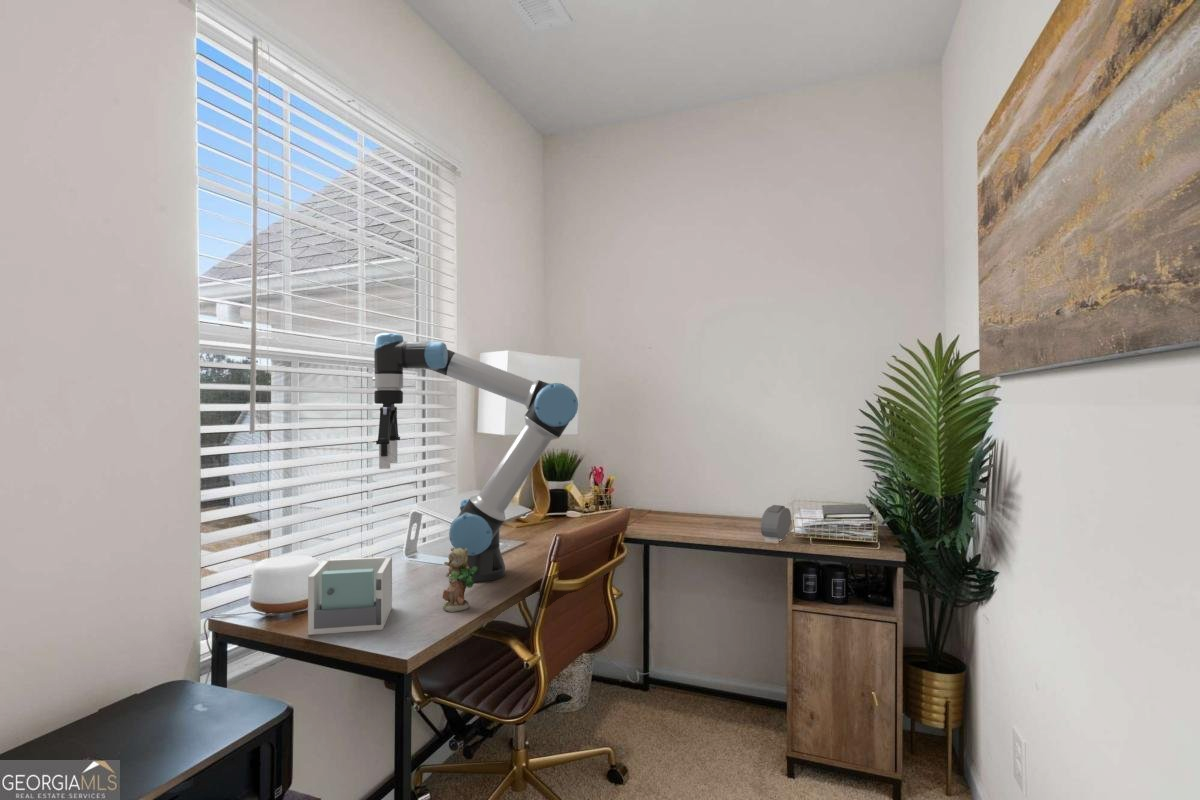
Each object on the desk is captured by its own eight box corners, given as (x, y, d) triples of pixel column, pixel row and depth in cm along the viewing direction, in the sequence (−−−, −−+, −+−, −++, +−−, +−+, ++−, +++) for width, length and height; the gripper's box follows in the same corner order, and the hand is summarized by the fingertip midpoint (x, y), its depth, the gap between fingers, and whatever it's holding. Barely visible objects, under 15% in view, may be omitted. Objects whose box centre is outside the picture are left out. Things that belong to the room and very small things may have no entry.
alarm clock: (775, 532, 239) (775, 500, 239) (791, 534, 236) (791, 501, 236) (760, 544, 219) (760, 509, 219) (777, 546, 216) (777, 511, 216)
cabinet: (391, 607, 152) (392, 556, 152) (382, 630, 137) (382, 573, 137) (324, 612, 149) (324, 559, 149) (307, 635, 134) (307, 576, 134)
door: (374, 619, 141) (374, 568, 141) (371, 624, 138) (371, 572, 138) (324, 622, 139) (324, 571, 139) (320, 628, 135) (320, 575, 135)
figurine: (435, 609, 151) (435, 550, 151) (456, 600, 158) (456, 544, 158) (463, 615, 147) (463, 555, 146) (483, 606, 153) (483, 548, 153)
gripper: (382, 390, 177) (381, 461, 177) (365, 388, 153) (365, 471, 153) (408, 390, 179) (408, 460, 179) (396, 389, 154) (396, 470, 154)
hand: (388, 465), depth 166 cm, fingers open, 13 cm apart
